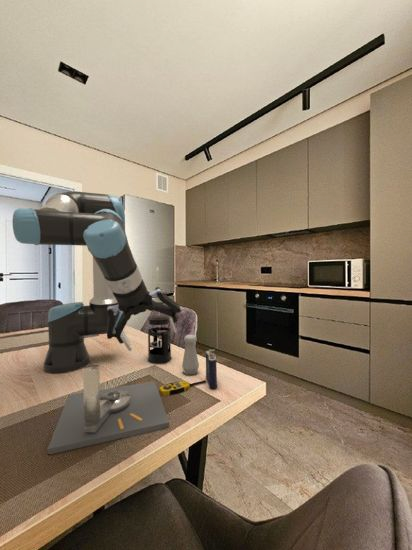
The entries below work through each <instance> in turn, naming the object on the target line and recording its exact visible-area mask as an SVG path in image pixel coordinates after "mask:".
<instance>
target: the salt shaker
mask: <svg viewBox="0 0 412 550" xmlns="http://www.w3.org/2000/svg"><path fill="white" fill-rule="evenodd" d="M183 341H184V343H185V347H184V352H183V359H182V369H183V372H184V373H185V374H186V375H191V376H192V375H195V374H197V372H198V369H199V367H200V363H199V358H198V354H197V348H196V344H195V343H196V342H197V336H196V335H194V334H187V335H185V336H184V338H183Z"/></svg>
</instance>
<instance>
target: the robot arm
mask: <svg viewBox="0 0 412 550" xmlns="http://www.w3.org/2000/svg"><path fill="white" fill-rule="evenodd" d="M124 211H125V210H124V206H123V201H122V199H121V198H120V197H119V196H117V195H112V194H106V193H97V192H84V191H79V190H78V191H77V190H76V191H73V190H71V191H64V192H60V193H56V194H53V195H51V196H50V197H48V198H47V200H46V202H45V204H44V205H43V206H41V207H40V208H38V209H35V208H32V207H29V208H17V209H15V210H14V212H13V215H12V221H11V223H12V224H11V225H12V231H13V235H14V238H15V240H16V241H17V242H18V243H20V244H23V245H24V244H27V245H34V246H38V245H39V246H41V245H42V246H43V245H45V246H50V245H51V246H52V245H53V246H80V247H81V246H85V247H87V250H88V252H89V253H90V254H91V255H92V278H93V279H92V280H93V281H92V283H93V286H92V287H93V288H92V289H93V291H92V292H93V296H92V297H91V299H90V300H89V303H88V304H89V305H84V302H82V301H77V302H75V301H74V302H70V303H64V304H60V305H56V306H53V307H51V308H50V309H49V310H48V314H47V319H48V320H47V323H48V330H47V331H48V349H47V353H46V354H45V355H46V356H45V359H44V361H43V371H44V372H45V371H46V372H45V373H48V372H50V374H63V373H69V372H73V371H77V370H79V369H83V368H84V367H86V366H88V365H89V363H90V354H89V351H88V349H87V347H86V344H85V337H86V336H87V337H89V336H96V335H97V336H98V335H105V334H106V337H107V340H111V339H112V338H116V340H117V341H118V343H119V344H121V345H122V344H124V346H125V347H126V349H127V351H128V352H131V351H132V345H131V342H130V340H129V338H128V337H127V334H126V333H125V331H124V329H125V327H126V325H127V323H128V321H129V320H130V319H131V317H132V316H136V315H139V314H141V313H144V312H146V311H147V310H148V311H150V312H153V311H154V312H158V313H159V312H160V314H164V315H165V316H169V323H170V324H171V327H172V330H173V332H174V334H175V333H177V332H178V330H177V328H176V325H175V323H178V319H177V314H178V313H181V312H182V309H181V307H180V305H179V304H178V303H177V302H176V301H175V300H174V299H172V298H171V297H170V296H168V295H167V294H166V293H164V292H163V291H162V289H161V287H159V286H157V287H155V290H153V291H151V292H150V291H148V289H147V286H146V284H145V281H144V279H143V276H142V274H141V272H140V269H139V267H138V265H137V263H136V261H135V257H134V255H133V253H132V250H131V247H130V244H129V240H128V237H127V234H126V229H125V228H126V227H125V224H126V223H125V212H124ZM153 298H155V299H156V300H159V301H155V300H153ZM158 302H163V303H164V304H161V303H158Z"/></svg>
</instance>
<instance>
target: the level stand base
mask: <svg viewBox="0 0 412 550" xmlns="http://www.w3.org/2000/svg"><path fill="white" fill-rule="evenodd" d="M116 390H123V391H127V392H128V393H129V394H130V404H129V405H128V406H127V407H126V408H124V409H123V410H120V411H118V412H114V413H111V414H110V415H109V416H108V418H107V419H106V420H105V421H104V422H103V424H102V425H101V426H100V427H99V429H98V430H97V431H96V432H95V433H93V432H85V429H84V395H83V392H78V393H75V394H74V393H72V394H68V396H67V398H66V401H65V403H64V406H63V407H62V408H63V409H62V411H61V414H60V416H59V418H58V420H57V421H58V422H57V424H56V426H55V429H54V432H53V434H52V437H51V440H50V442H49V443H48V444H49V445H48V446H47V455H48V454H50V455H53V454H58V453H63V452H66V451H72V450H76V449H80V448H84V447H89V446H92V445H93V446H94V445H96V444H97V445H98V444H103V443H107V442H112V441H116V440H121V439H123V438H128V437H129V438H130V437H134V436H138V435H143V434H146V433H151V432H155V431H159V430H163V429H168V428H170V421H169V418H168V415H167V412H166V409H165V406H164V404H163V400H162V397H161V394H160V392H159V388H158V386H157V383H156V381H155V380H152V381H148V382H141V383H135V384H130V385H123V386H117V387H116V386H115V387H110V388H103V389H100V396H101V395H103V394H105V393H107V392H110V391H116Z"/></svg>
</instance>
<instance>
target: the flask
mask: <svg viewBox="0 0 412 550" xmlns="http://www.w3.org/2000/svg"><path fill="white" fill-rule="evenodd" d="M214 351H216V349H208V350H207V351H205V377H206V379H205V380H206V384H208V389H209V390H211V391H214V390H217V389H218V380H217V379H218V375H217V374H218V373H217V371H218V370H217V355H216V354H215V353H214Z"/></svg>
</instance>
